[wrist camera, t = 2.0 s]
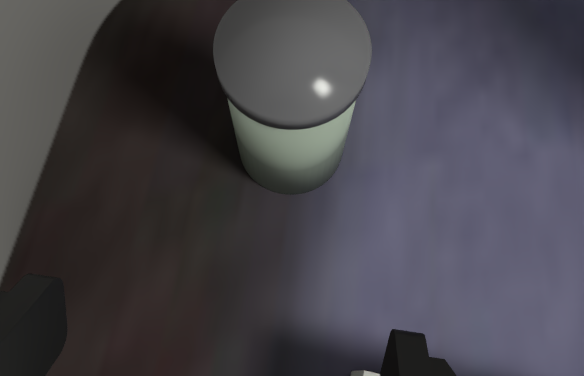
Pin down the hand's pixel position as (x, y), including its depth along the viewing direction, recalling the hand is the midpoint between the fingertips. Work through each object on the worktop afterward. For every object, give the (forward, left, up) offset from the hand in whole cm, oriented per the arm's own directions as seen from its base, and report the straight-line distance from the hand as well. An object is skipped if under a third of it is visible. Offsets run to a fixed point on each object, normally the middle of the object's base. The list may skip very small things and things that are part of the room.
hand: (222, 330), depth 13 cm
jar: (-7, -10, -15) cm, 19 cm away
